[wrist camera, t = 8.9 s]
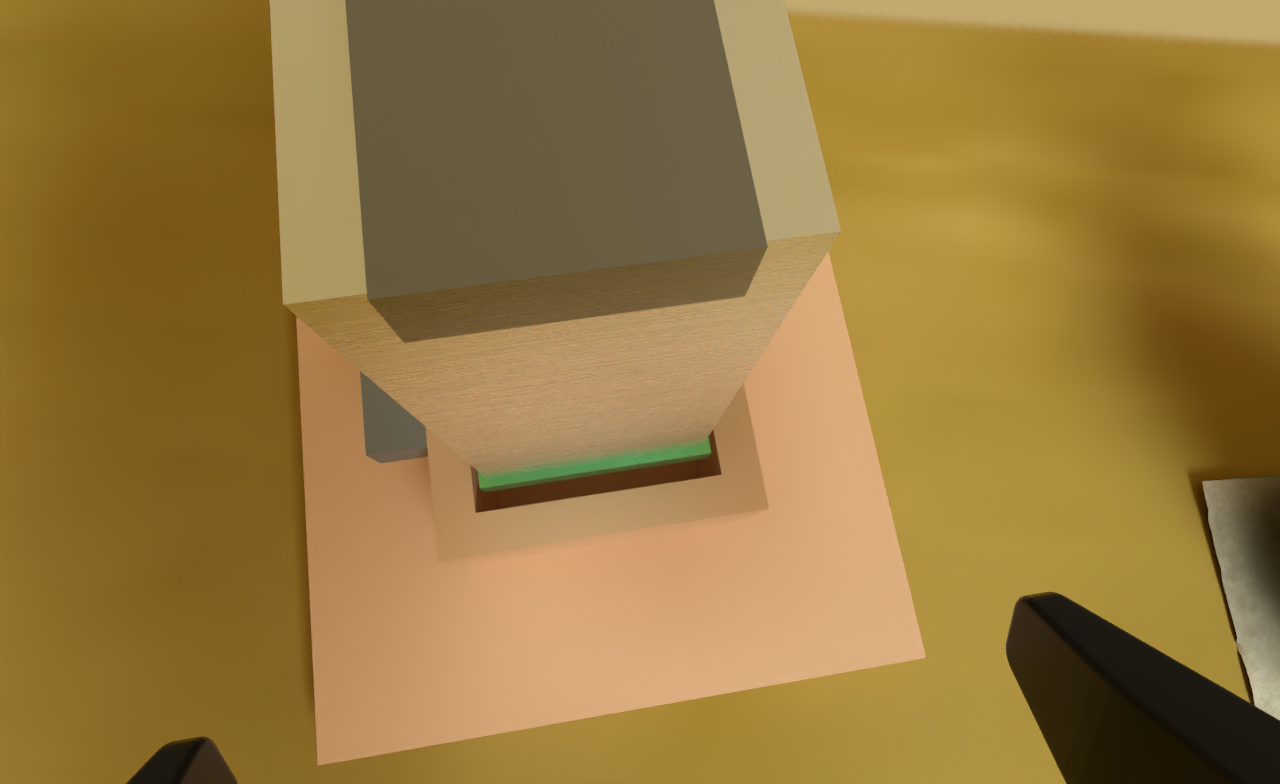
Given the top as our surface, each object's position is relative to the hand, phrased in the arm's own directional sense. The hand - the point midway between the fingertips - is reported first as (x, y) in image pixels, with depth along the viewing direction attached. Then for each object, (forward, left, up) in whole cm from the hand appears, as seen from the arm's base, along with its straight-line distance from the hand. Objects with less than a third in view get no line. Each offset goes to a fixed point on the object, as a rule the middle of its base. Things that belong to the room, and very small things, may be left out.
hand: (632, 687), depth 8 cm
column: (+5, 0, -5) cm, 8 cm away
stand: (+5, 0, -11) cm, 12 cm away
